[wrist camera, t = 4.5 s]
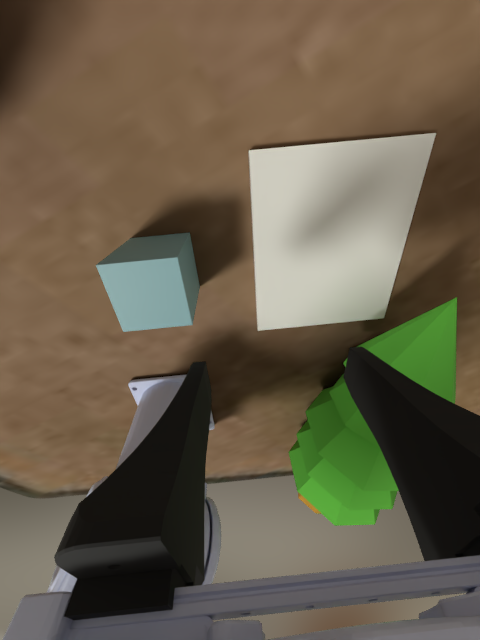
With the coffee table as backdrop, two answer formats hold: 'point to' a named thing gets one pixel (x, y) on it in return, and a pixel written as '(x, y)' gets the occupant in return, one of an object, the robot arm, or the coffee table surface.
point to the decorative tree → (353, 432)
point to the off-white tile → (332, 227)
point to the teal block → (152, 282)
